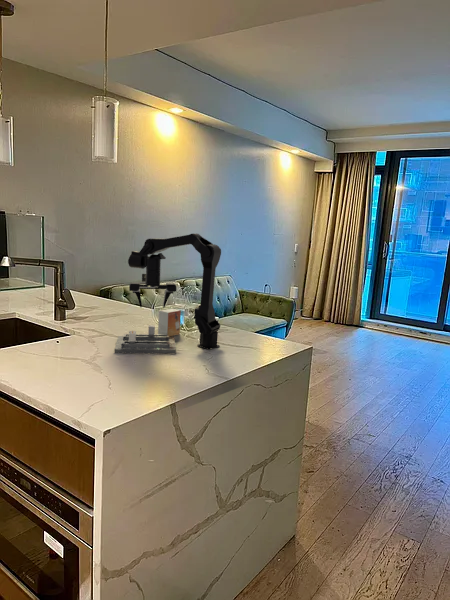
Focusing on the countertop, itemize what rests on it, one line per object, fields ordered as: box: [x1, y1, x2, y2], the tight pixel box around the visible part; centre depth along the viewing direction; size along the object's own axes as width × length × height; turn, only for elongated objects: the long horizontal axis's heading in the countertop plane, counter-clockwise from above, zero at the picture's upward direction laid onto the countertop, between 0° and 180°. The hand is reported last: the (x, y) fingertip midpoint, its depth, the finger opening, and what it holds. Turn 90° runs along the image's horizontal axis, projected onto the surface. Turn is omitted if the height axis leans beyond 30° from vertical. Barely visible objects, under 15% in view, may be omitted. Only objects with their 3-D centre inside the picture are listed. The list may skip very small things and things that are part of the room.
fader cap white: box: [128, 330, 137, 343], centre depth 169 cm, size 2×4×5 cm, turn 9°
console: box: [113, 333, 177, 355], centre depth 174 cm, size 22×19×3 cm
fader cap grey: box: [147, 324, 156, 336], centre depth 180 cm, size 2×3×5 cm
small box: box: [157, 308, 182, 337], centre depth 193 cm, size 8×6×10 cm
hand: (152, 307), depth 187 cm, fingers open, 9 cm apart
